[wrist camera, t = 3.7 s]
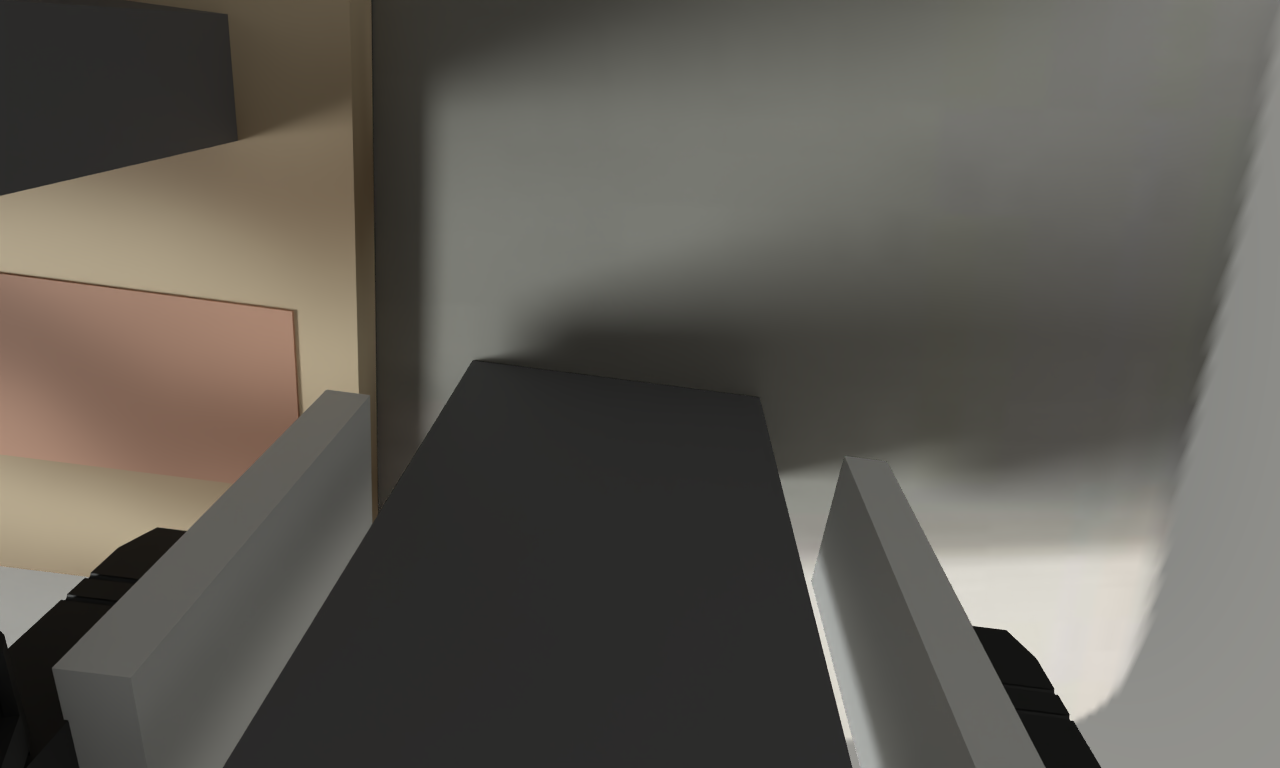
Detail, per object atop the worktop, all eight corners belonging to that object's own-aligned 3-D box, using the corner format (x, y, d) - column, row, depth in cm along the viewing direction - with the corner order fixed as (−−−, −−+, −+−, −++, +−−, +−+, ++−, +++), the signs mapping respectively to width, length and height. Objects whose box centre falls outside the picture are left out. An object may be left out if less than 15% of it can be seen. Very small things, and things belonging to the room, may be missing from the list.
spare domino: (472, 360, 16) (54, 1040, 5) (759, 397, 16) (945, 1137, 5) (468, 444, 17) (101, 1189, 6) (742, 479, 17) (872, 1270, 6)
